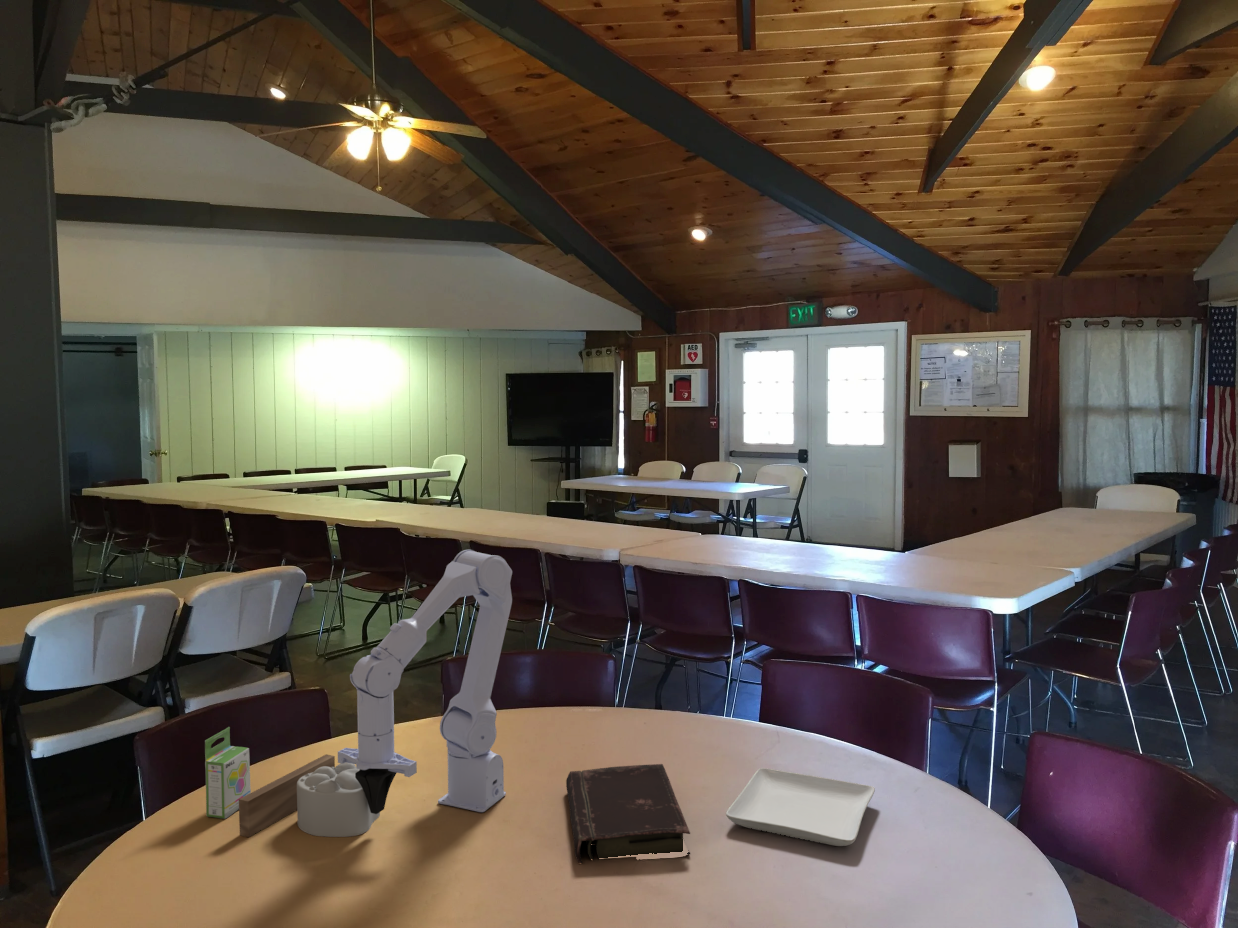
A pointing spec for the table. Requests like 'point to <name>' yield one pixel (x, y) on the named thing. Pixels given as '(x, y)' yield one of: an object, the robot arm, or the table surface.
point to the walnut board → (275, 799)
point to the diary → (625, 811)
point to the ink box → (225, 776)
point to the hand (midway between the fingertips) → (377, 810)
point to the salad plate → (802, 806)
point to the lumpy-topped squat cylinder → (333, 803)
